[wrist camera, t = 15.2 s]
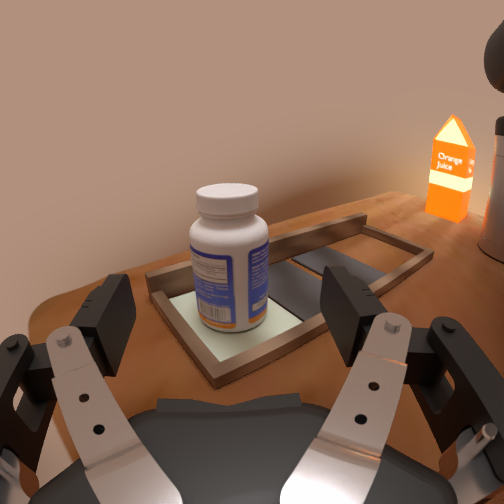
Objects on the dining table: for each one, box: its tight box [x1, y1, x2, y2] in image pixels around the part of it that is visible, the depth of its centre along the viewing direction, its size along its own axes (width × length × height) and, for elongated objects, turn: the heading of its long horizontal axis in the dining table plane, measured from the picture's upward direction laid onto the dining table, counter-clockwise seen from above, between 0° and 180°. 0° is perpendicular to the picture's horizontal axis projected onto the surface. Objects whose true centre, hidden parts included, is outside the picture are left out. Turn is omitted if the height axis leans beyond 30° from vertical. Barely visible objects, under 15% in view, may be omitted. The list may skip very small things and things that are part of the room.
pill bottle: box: [189, 183, 269, 332], centre depth 21 cm, size 5×5×10 cm
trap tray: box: [145, 213, 434, 389], centre depth 28 cm, size 30×12×2 cm, turn 125°
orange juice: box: [425, 115, 475, 223], centre depth 46 cm, size 8×9×20 cm
